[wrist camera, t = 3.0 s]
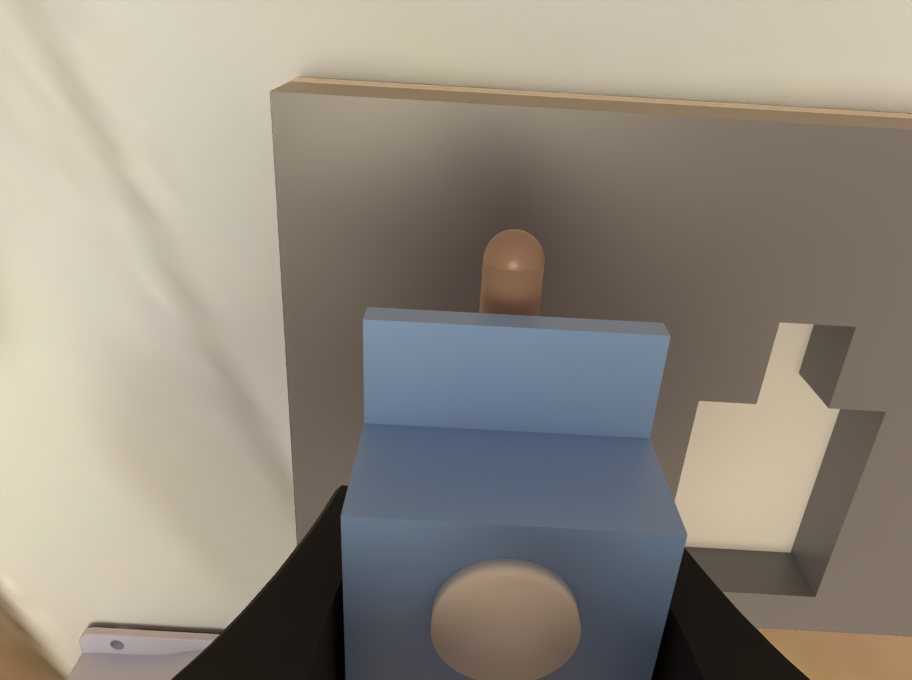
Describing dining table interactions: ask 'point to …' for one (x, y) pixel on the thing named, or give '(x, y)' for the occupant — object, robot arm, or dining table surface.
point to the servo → (508, 491)
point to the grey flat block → (640, 301)
